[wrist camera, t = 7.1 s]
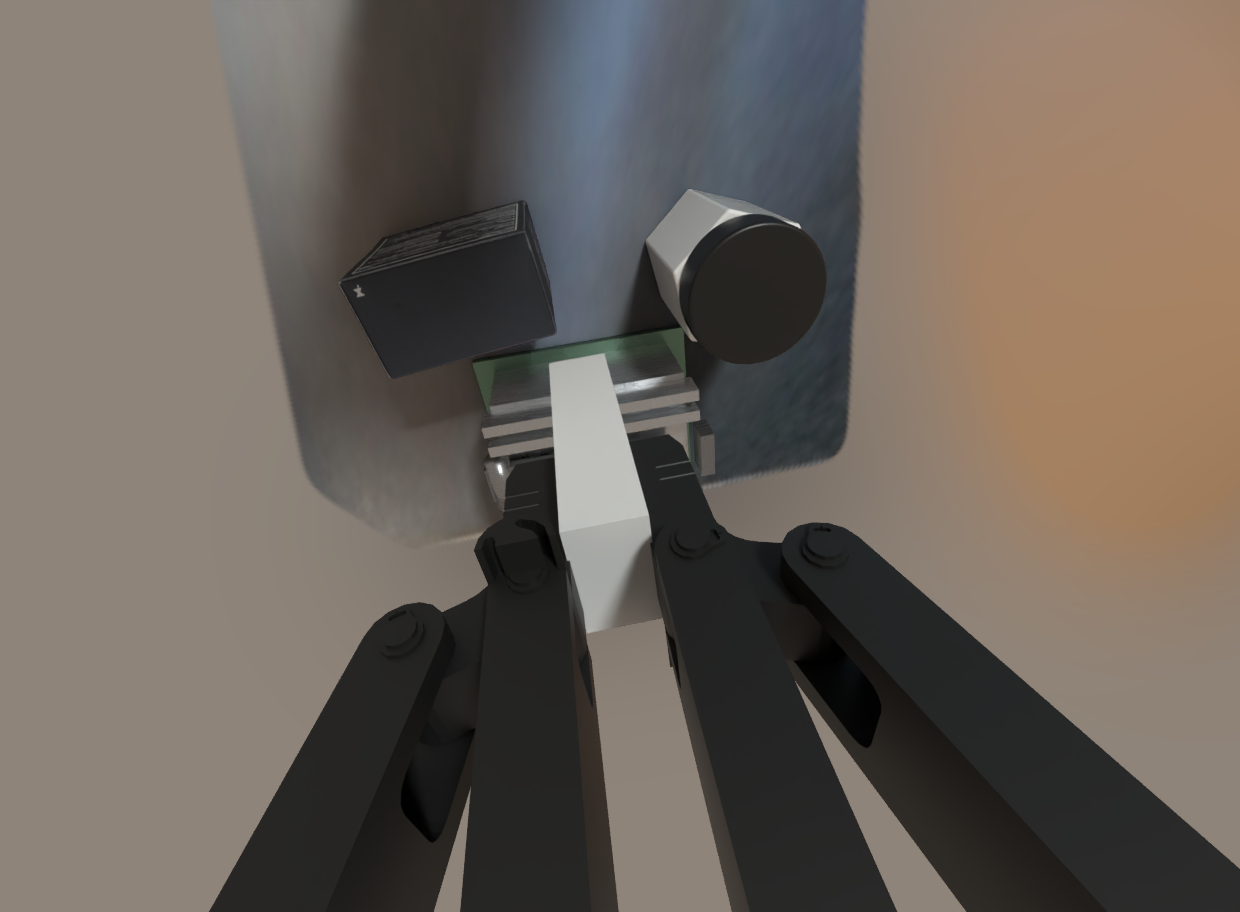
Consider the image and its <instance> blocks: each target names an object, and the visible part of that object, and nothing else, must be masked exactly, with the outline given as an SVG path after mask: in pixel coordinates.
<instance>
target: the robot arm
mask: <svg viewBox="0 0 1240 912" xmlns="http://www.w3.org/2000/svg"><path fill="white" fill-rule="evenodd" d="M549 372H550V389H551V405H552V421H553V438H554V454H555V457H553V458H548V459H543V460H537V461H532V462H527V463H521V464H516V465H515V467H514V469H513V470H512V472H511V473H510V475H509V476H508V478H507V479H506V488H505V503H504V511H505V512H504V517H503V519H502V520H500V521H499V522H497V523H495V524H494V525H492V526H491V527H489V528H488V529H487V530H486V531H485V532H484V533H483V534H482V535H481V536H480V537H479V539H478V541H477V544H476V546H475V549H474V552H475V554H476V557H477V559H478V561H479V563H480V566H481V568H482V571H483V573H484V575H485V578H486V580H487V582H488V586H487V587H486V588H485V589H483V590H482V591H481V592H480V593H479V594H477V595H476V596H474V597H472V598H471V599H469V600H467V601H465V602H463V603H461V604H459V605H457V606H455V607H452V608H450V609H448V610H446V611H444V612H441V611H440V610H438V609H437V608H436V607H435V606H433V605H431V604H426V603H420V602H419V603H412V604H406V605H403V606H401V607H399V608H396V609H394V610H392V611H390V612H388V613H387V614H385V615H384V616H383V617H382V618H380V619H379V620H378V621H376V622H375V623H374V624H373V626H372V627H371V628H370V629H369V631H368V632H367V633H366V635H365V636H364V638H363V639H362V641H361V643H360V644H359V646H358V648H357V650H356V652H355V653H354V655H353V657H352V659H351V660H350V662H349V664H348V666H347V668H346V669H345V671H344V673H343V675H342V676H341V679H340V680H339V682H338V684H337V685H336V687H335V689H334V691H333V692H332V694H331V696H330V698H329V700H328V701H327V703H326V705H325V707H324V708H323V710H322V712H321V714H320V716H319V718H318V719H317V721H316V723H315V725H314V726H313V728H312V730H311V732H310V734H309V735H308V737H307V739H306V741H305V742H304V744H303V746H302V748H301V749H300V751H299V753H298V755H297V756H296V758H295V760H294V762H293V764H292V765H291V767H290V769H289V771H288V772H287V774H286V776H285V778H284V780H283V781H282V783H281V785H280V787H279V788H278V790H277V792H276V794H275V796H274V797H273V799H272V801H271V803H270V804H269V806H268V808H267V810H266V812H265V814H264V815H263V817H262V819H261V820H260V822H259V824H258V826H257V828H256V829H255V831H254V833H253V835H252V837H251V838H250V840H249V842H248V844H247V845H246V847H245V849H244V851H243V853H242V854H241V856H240V858H239V859H238V861H237V863H236V865H235V867H234V868H233V870H232V872H231V874H230V876H229V877H228V879H227V881H226V883H225V884H224V886H223V888H222V890H221V891H220V894H219V895H218V897H217V899H216V900H215V902H214V904H213V906H212V907H211V909H210V911H209V912H434V909H435V905H436V902H437V898H438V895H439V892H440V888H441V885H442V882H443V878H444V875H445V872H446V868H447V865H448V862H449V858H450V855H451V851H452V848H453V845H454V841H455V838H456V834H457V831H458V828H459V824H460V821H461V817H462V814H463V811H464V808H465V804H466V801H467V797H468V794H469V791H470V787H471V793H470V804H469V816H468V828H467V840H466V851H465V863H464V875H463V887H462V898H461V909H460V912H619V911H618V902H617V894H616V893H617V892H616V883H615V874H614V864H613V855H612V846H611V837H610V827H609V818H608V809H607V800H606V790H605V782H604V772H603V762H602V753H601V743H600V734H599V725H598V715H597V707H596V698H595V688H594V680H593V679H594V678H593V669H592V660H591V656H590V652H589V649H588V645H587V640H586V630H587V633H591V632H596V631H601V630H606V629H611V628H615V627H621V626H626V625H631V624H636V623H640V622H646V621H650V620H655V619H660V618H663V620H664V624H665V629H666V637H667V645H668V653H669V660H670V667H673V669H674V674H675V678H676V682H677V686H678V690H679V694H680V698H681V703H682V707H683V711H684V714H685V719H686V723H687V727H688V731H689V736H690V740H691V744H692V748H693V752H694V756H695V761H696V765H697V769H698V773H699V777H700V781H701V785H702V789H703V793H704V798H705V802H706V806H707V810H708V814H709V818H710V822H711V827H712V831H713V835H714V839H715V843H716V847H717V852H718V856H719V859H720V864H721V868H722V872H723V876H724V881H725V885H726V889H727V893H728V897H729V901H730V905H731V910H732V912H897V910H896V908H895V906H894V904H893V901H892V899H891V897H890V895H889V892H888V890H887V888H886V886H885V884H884V881H883V879H882V877H881V874H880V872H879V870H878V868H877V865H876V863H875V861H874V859H873V856H872V854H871V852H870V849H869V847H868V845H867V843H866V840H865V838H864V836H863V834H862V831H861V829H860V827H859V825H858V822H857V820H856V818H855V816H854V813H853V811H852V809H851V807H850V805H849V802H848V800H847V798H846V795H845V793H844V791H843V788H842V786H841V784H840V782H839V779H838V777H837V775H836V773H835V770H834V768H833V766H832V764H831V761H830V759H829V757H828V755H827V752H826V750H825V748H824V746H823V743H822V741H821V739H820V737H819V734H818V732H817V730H816V728H815V725H814V723H813V721H812V718H811V716H810V714H809V712H808V709H807V707H806V705H805V703H804V700H803V698H802V696H801V694H800V691H799V689H798V687H797V685H796V682H797V684H798V685H799V687H800V688H801V689H802V691H803V692H804V693H805V695H806V696H807V697H808V699H809V700H810V701H811V703H812V704H813V706H814V707H815V708H816V710H817V711H818V712H819V713H820V715H821V716H822V718H823V719H824V720H825V722H826V723H827V724H828V726H829V727H830V728H831V730H832V731H833V733H834V734H835V735H836V736H837V738H838V739H839V741H840V742H841V743H842V744H843V746H844V747H845V748H846V750H847V751H848V753H849V754H850V755H851V757H852V758H853V759H854V761H855V762H856V763H857V765H858V766H859V767H860V769H861V770H862V772H863V773H864V774H865V776H866V777H867V778H868V780H869V781H870V782H871V784H872V785H873V786H874V788H875V789H876V790H877V792H878V793H879V794H880V796H881V797H882V798H883V800H884V801H885V803H886V804H887V805H888V807H889V808H890V809H891V811H892V812H893V813H894V815H895V816H896V817H897V819H898V820H899V821H900V823H901V824H902V825H903V827H904V828H905V830H906V831H907V832H908V834H909V835H910V836H911V838H912V839H913V840H914V842H915V843H916V844H917V846H918V847H919V848H920V850H921V851H922V852H923V854H924V855H925V857H926V858H927V859H928V861H929V862H930V863H931V865H932V866H933V867H934V869H935V870H936V871H937V872H938V874H939V875H940V877H941V878H942V879H943V881H944V882H945V883H946V885H947V886H948V888H949V889H950V890H951V892H952V893H953V894H954V895H955V897H956V898H957V900H958V901H959V902H960V904H961V905H962V906H963V908H964V909H965V910H966V912H1240V869H1239V868H1238V867H1237V866H1236V865H1235V864H1234V863H1232V862H1231V861H1230V860H1229V859H1228V858H1227V857H1225V856H1224V855H1223V854H1222V853H1221V852H1220V851H1219V850H1217V849H1216V848H1215V847H1214V846H1213V845H1212V844H1211V843H1209V842H1208V841H1207V840H1206V839H1205V838H1204V837H1202V836H1201V835H1200V834H1199V833H1198V832H1197V831H1196V830H1195V829H1193V828H1192V827H1191V826H1190V825H1189V824H1188V823H1186V822H1185V821H1184V820H1183V819H1182V818H1181V817H1179V816H1178V815H1177V814H1176V813H1175V812H1174V811H1173V810H1171V809H1170V808H1169V807H1168V806H1167V805H1166V804H1165V803H1164V802H1162V801H1161V800H1160V799H1159V798H1158V797H1157V796H1155V795H1154V794H1153V793H1152V792H1151V791H1150V790H1149V789H1147V788H1146V787H1145V786H1144V785H1143V784H1142V783H1141V782H1139V781H1138V780H1137V779H1136V778H1135V777H1133V776H1132V775H1131V774H1130V773H1129V772H1128V771H1127V770H1126V769H1124V768H1123V767H1122V766H1121V765H1120V764H1119V763H1118V762H1116V761H1115V760H1114V759H1113V758H1112V757H1111V756H1110V755H1108V754H1107V753H1106V752H1105V751H1104V750H1103V749H1102V748H1100V747H1099V746H1098V745H1097V744H1095V742H1093V741H1092V740H1091V739H1090V738H1089V737H1088V736H1087V735H1085V734H1084V733H1083V732H1082V731H1081V730H1080V729H1079V728H1077V727H1076V726H1075V725H1074V724H1073V723H1072V722H1071V721H1069V720H1068V719H1067V718H1066V717H1065V716H1064V715H1062V714H1061V713H1060V712H1059V711H1058V710H1056V708H1054V707H1053V706H1052V705H1051V704H1050V703H1049V702H1048V701H1046V700H1045V699H1044V698H1043V697H1042V696H1040V695H1039V694H1038V693H1037V692H1036V691H1035V690H1034V689H1033V688H1031V687H1030V686H1029V685H1028V684H1027V683H1026V682H1025V681H1023V680H1022V679H1021V678H1020V677H1019V676H1018V675H1016V674H1015V673H1014V672H1013V671H1012V670H1011V669H1010V668H1009V667H1007V666H1006V665H1005V664H1004V663H1003V662H1002V661H1000V660H999V659H998V658H997V657H996V656H995V655H993V654H992V653H991V652H990V651H989V650H988V649H987V648H986V647H984V646H983V645H982V644H981V643H980V642H978V641H977V640H976V639H975V638H974V637H973V636H972V635H971V634H969V633H968V632H967V631H966V630H965V629H964V628H963V627H961V626H960V625H959V624H958V623H957V622H956V621H954V620H953V619H952V618H951V617H950V616H949V615H948V614H946V613H945V612H944V611H943V610H942V609H941V608H940V607H938V606H937V605H936V604H935V603H934V602H933V601H932V600H930V599H929V598H928V597H927V596H926V595H925V594H923V593H922V592H921V591H920V590H919V589H918V588H917V587H915V586H914V585H913V584H912V583H911V582H910V581H909V580H907V579H906V578H905V577H904V576H903V575H902V574H901V573H899V572H898V571H897V570H896V569H895V568H894V567H893V566H891V565H890V564H889V563H888V562H887V561H886V560H885V559H883V558H882V557H881V556H880V555H879V554H878V553H876V552H875V551H874V550H873V549H872V548H871V547H869V546H868V545H867V544H866V543H865V542H864V541H863V540H862V539H860V538H859V537H858V536H856V535H855V534H853V533H852V532H850V531H849V530H847V529H845V528H843V527H839V526H836V525H833V524H829V523H808V524H804V525H800V526H797V527H796V528H794V529H793V530H791V531H790V532H788V533H787V535H786V537H785V538H784V540H783V542H782V543H771V542H770V543H769V542H757V541H749V540H744V539H741V538H738V537H735V536H733V535H732V534H730V533H728V532H727V531H726V529H725V528H724V527H723V526H721V525H719V524H718V523H717V522H716V520H715V519H714V517H713V515H712V512H711V510H710V508H709V505H708V503H707V500H706V498H705V496H704V493H703V491H702V489H701V486H700V484H699V482H698V479H697V477H696V475H695V474H694V470H693V468H692V465H691V463H690V462H689V458H688V456H687V454H686V451H685V449H684V447H683V445H682V444H681V443H680V442H678V441H677V440H676V439H674V438H673V437H672V436H670V435H669V434H667V435H661V436H656V437H651V438H646V439H640V440H635V441H630V442H629V441H628V438H627V434H626V430H625V427H624V423H623V419H622V416H621V412H620V409H619V405H618V401H617V398H616V394H615V390H614V387H613V383H612V379H611V376H610V372H609V369H608V365H607V361H606V358H605V354H604V353H603V354H597V355H592V356H586V357H581V358H575V359H570V360H564V361H559V362H553V363H549ZM585 627H586V629H585ZM795 681H796V682H795Z"/></svg>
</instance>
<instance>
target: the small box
mask: <svg viewBox="0 0 1240 912" xmlns="http://www.w3.org/2000/svg"><path fill="white" fill-rule="evenodd" d="M338 285H339V287H340V289H341V291H342V292H343V294H344V296H345V298H346V300H347V301H348V303H349V305H350V307H351V309H352V311H353V312H354V314H355V316H356V318H357V320H358V322H359V324H360V325H361V327H362V329H363V331H364V332H365V334H366V336H367V338H368V340H369V342H370V344H371V346H372V347H373V349H374V351H375V353H376V355H377V357H378V358H379V360H380V362H381V364H382V366H383V368H384V370H385V372H386V373H387V375H388V377H389V378H390V379H395V378H398V377H402V376H405V375H409V374H413V373H416V372H420V371H424V370H427V369H431V368H434V367H438V366H442V365H445V364H449V363H452V362H456V361H460V360H463V359H467V358H470V357H474V356H478V355H481V354H485V353H489V352H493V351H496V350H500V349H504V348H507V347H511V346H515V345H518V344H522V343H526V342H530V341H534V340H537V339H541V338H545V337H549V336H552V335H555V334H556V332H557V331H556V324H555V318H554V311H553V304H552V296H551V289H550V281H549V278H548V274H547V270H546V267H545V263H544V260H543V257H542V253H541V250H540V246H539V243H538V240H537V236H536V233H535V229H534V226H533V222H532V219H531V216H530V213H529V209H528V205H527V203H526V202H525V201H523V200H522V201H519V202H515V203H511V204H507V205H503V206H499V207H495V208H491V209H488V210H484V211H480V212H475V213H473V214H469V215H466V216H462V217H458V218H454V219H451V220H447V221H443V222H437V223H434V224H432V225H428V226H424V227H421V228H416V229H413V230H409V231H406V232H403V233H399V234H396V235H392V236H389V237H384V238H382V239H381V240H380V241H379V242H378V244H377V245H376V246H375V247H374V248H373V250H371V251H370V252H369V253H368V254H367V255H366V256H365V258H363V259H362V260H361V261H360V262H358V264H356V265H355V266H354V267H353V268H352V269H351V270H350V271H349V272H348V273H347V274H346V275H345V276H344V277H343V278H342V279H341V280H340V281H339V283H338Z"/></svg>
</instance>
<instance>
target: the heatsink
mask: <svg viewBox="0 0 1240 912" xmlns="http://www.w3.org/2000/svg"><path fill="white" fill-rule="evenodd" d="M603 353H604V354H605V358H606V361H607V365H608V369H609V372H610V376H611V379H612V383H613V387H614V390H615V394H616V398H617V401H618V405H619V409H620V412H621V416H622V419H623V423H624V427H625V430H626V434H627V438H628V441H629V442H630V441H635V440H640V439H646V438H651V437H656V436H661V435H667V434H669V435H670V436H672V437H673V438H674V439H676V440H677V441H678V442H680V443H681V444H682V445H683V447H684V449H685V451H686V454H687V456H688V458H689V462H690V463H691V456H690V438H689V422H693V421H695V422H693V430H694V450H695V461H696V463H697V466H698V468H699V470H700V472H701V474H702V476H706V475H711V474H715V447H714V433H713V431H712V429H711V428H710V426H709V424H708V422H707V421H706V420H700V410H699V408H698V406H697V405H696V403H695V401H699V389H698V388H697V386H696V384H695V383H694V381H693V379H692V378H691V377H686V365H685V347H684V330H683V328H682V327H681V325H677V326H671V327H665V328H660V329H654V330H648V331H642V332H636V333H630V334H624V335H618V336H613V337H607V338H601V339H595V340H589V341H583V342H577V343H571V344H566V345H560V346H554V347H548V348H542V349H536V350H530V351H524V352H519V353H513V354H507V355H501V356H495V357H489V358H483V359H477V360H473V362H472V364H473V367H474V371H475V374H476V377H477V381H478V384H479V387H480V390H481V394H482V397H483V400H484V403H485V407H486V410H487V413H484V415H483V421H482V428H481V429H482V432H483V435H484V439H485V438H489V442H488V451H489V454H490V457H491V458H492V457H498V456H503V455H508V458H509V461H515V460H521V459H528V458H534V457H540V456H547V455H553V454H554V438H553V421H552V405H551V389H550V372H549V363H553V362H559V361H564V360H570V359H575V358H581V357H586V356H592V355H597V354H603ZM698 420H700V421H698ZM695 475H696V474H695ZM696 477H697V476H696ZM697 479H698V478H697ZM698 482H699V480H698ZM699 484H700V483H699ZM700 486H701V485H700ZM701 489H702V487H701ZM702 491H703V489H702Z"/></svg>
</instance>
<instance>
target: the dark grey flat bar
mask: <svg viewBox="0 0 1240 912" xmlns="http://www.w3.org/2000/svg"><path fill="white" fill-rule="evenodd" d="M553 457H555V454H553V455H547V456H540V457H534V458H528V459H521V460H515V461H509V458H508V455H503V456H498V457H492V458H491V457H490V454H489V455H487V456H486V457H485V458H484V460H483V463H484V466H485V468H484V473H485V476H486V479H487V482H488V485H489V488H490V491H491V494H492V497H493V500H494V503H496V502H497V505H498V508H499V510H500V511H502V512H505V511H504V503H505V488H506V479H507V478H508V476H509V475H510V473H511V472H512V470H513V469H514V467H515V465H516V464H521V463H527V462H532V461H537V460H543V459H548V458H553Z"/></svg>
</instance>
